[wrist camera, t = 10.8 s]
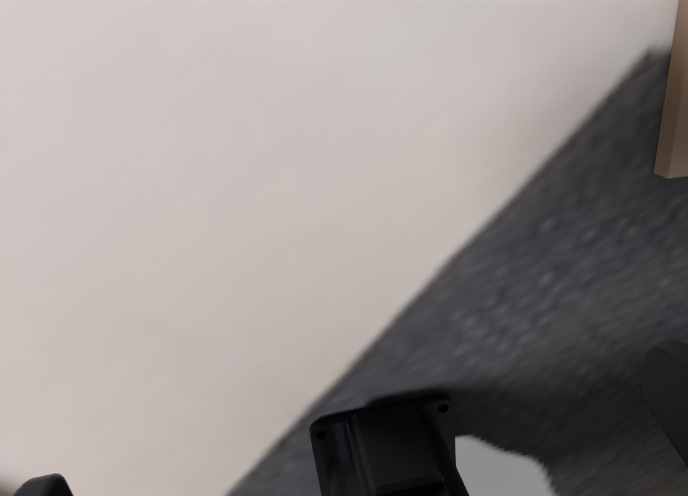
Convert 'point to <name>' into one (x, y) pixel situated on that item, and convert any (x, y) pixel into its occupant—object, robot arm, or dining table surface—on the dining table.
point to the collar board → (675, 106)
